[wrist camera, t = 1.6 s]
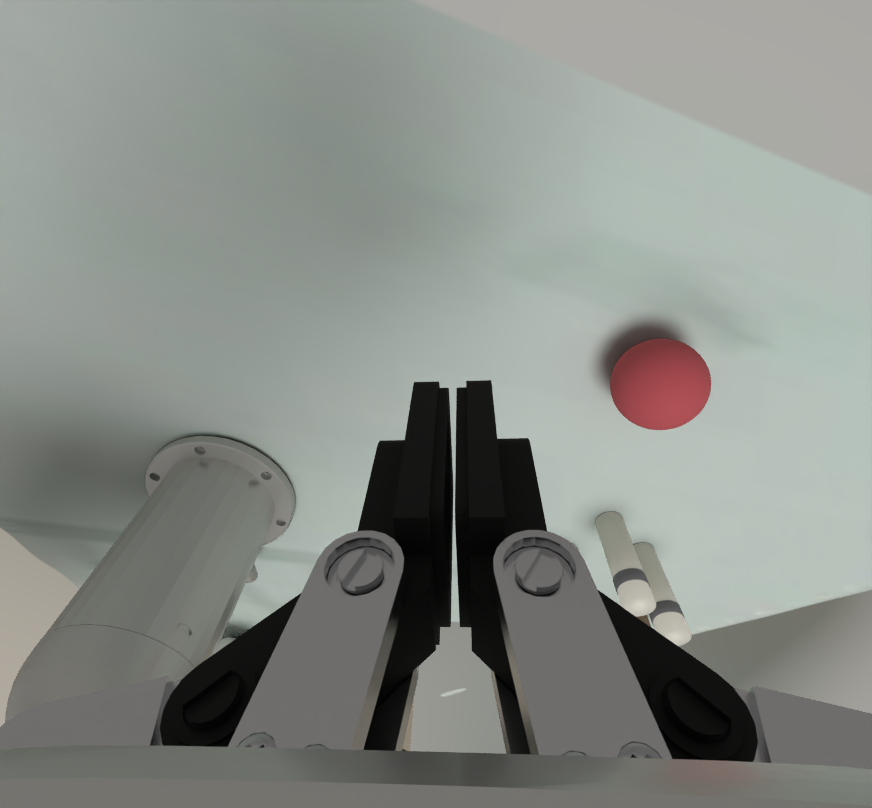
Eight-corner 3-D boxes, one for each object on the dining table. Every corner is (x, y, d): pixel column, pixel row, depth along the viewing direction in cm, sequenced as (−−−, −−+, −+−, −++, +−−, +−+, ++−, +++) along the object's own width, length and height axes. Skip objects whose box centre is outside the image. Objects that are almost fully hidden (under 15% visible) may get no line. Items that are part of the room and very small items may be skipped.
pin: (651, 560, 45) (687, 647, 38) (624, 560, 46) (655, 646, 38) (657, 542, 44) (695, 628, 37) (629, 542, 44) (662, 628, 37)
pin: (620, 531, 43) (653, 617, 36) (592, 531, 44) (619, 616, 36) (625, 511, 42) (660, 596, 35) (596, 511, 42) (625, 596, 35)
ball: (677, 397, 36) (713, 448, 31) (594, 399, 36) (617, 449, 31) (697, 322, 32) (742, 364, 27) (607, 324, 33) (634, 367, 28)
